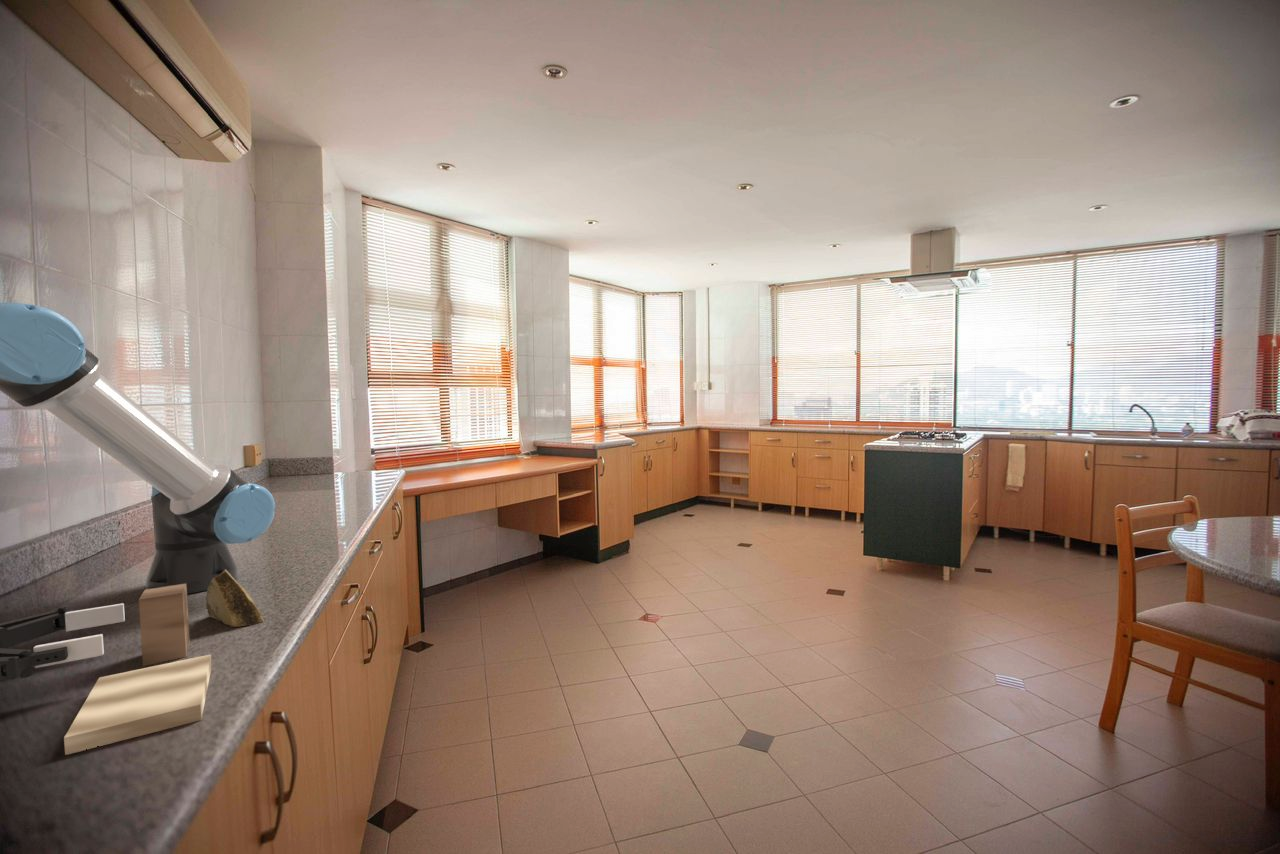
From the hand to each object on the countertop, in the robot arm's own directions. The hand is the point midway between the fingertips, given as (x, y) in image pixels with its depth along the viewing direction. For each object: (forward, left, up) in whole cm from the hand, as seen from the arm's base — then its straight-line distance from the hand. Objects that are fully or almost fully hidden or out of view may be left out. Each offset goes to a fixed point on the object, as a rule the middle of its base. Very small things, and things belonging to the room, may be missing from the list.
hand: (114, 627), depth 83 cm
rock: (-12, +14, -6) cm, 19 cm away
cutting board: (+16, +6, -6) cm, 18 cm away
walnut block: (-1, +6, -6) cm, 8 cm away
